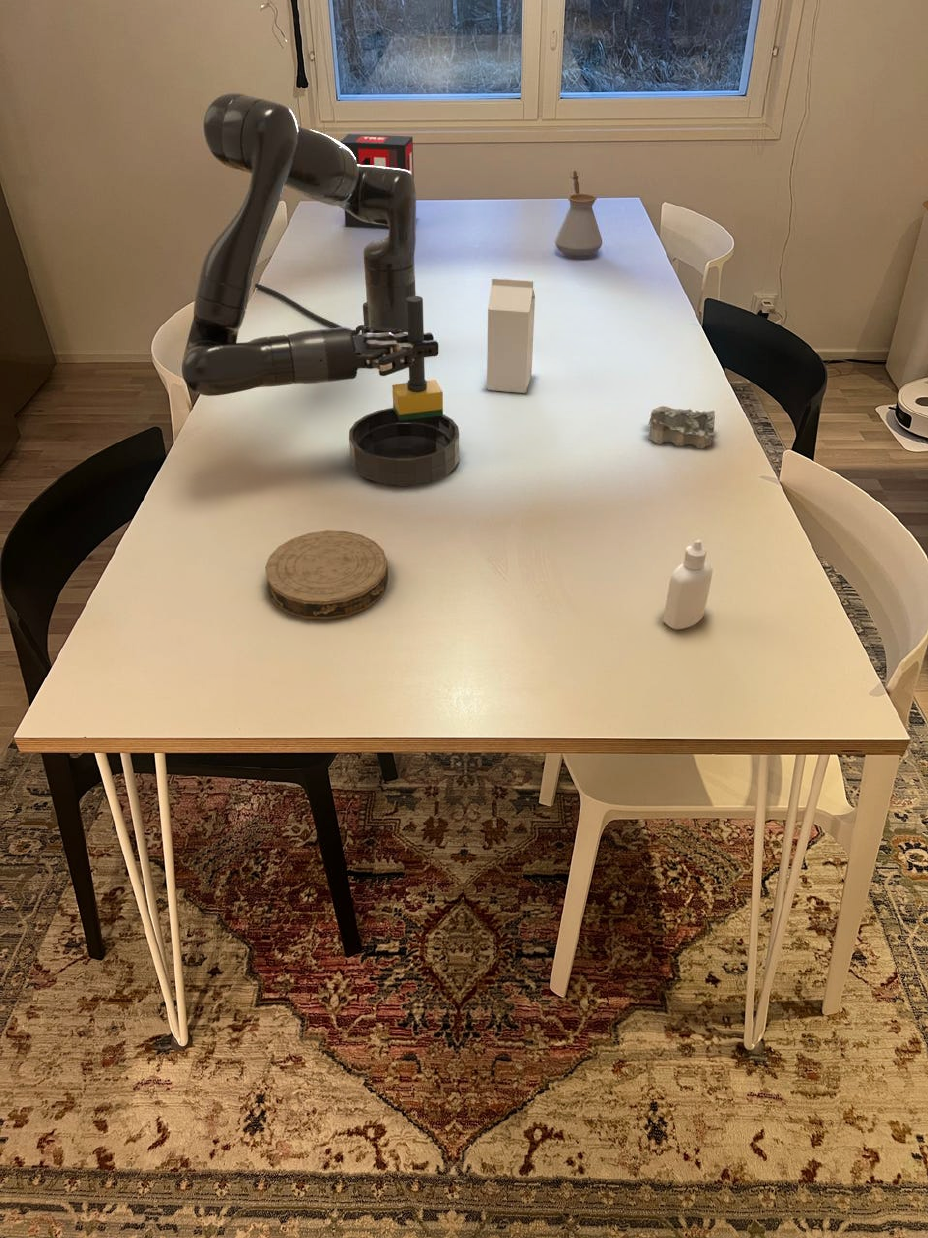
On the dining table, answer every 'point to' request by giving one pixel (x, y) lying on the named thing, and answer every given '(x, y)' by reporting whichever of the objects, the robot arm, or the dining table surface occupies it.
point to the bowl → (403, 448)
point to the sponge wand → (417, 375)
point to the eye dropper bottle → (688, 589)
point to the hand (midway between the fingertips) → (434, 343)
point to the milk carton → (510, 335)
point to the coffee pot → (579, 227)
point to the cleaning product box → (379, 160)
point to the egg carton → (681, 426)
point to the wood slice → (327, 574)
